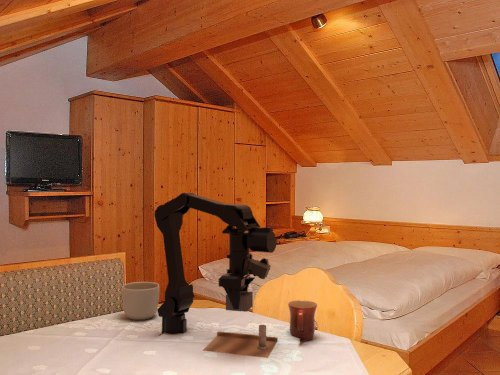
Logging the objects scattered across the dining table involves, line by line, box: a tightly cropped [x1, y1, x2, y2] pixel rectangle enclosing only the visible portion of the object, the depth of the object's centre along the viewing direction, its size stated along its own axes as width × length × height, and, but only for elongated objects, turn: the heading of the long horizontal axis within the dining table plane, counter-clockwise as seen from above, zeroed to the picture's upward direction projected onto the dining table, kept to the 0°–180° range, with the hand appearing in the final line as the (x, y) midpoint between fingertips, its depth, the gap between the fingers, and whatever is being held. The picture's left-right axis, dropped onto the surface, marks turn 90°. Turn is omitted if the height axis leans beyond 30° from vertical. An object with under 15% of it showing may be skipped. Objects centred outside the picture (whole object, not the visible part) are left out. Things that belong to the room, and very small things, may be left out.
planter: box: [121, 281, 160, 321], centre depth 153 cm, size 12×12×11 cm
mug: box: [287, 299, 318, 342], centre depth 133 cm, size 12×9×10 cm
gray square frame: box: [225, 291, 254, 313], centre depth 124 cm, size 6×6×4 cm
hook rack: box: [202, 324, 279, 359], centre depth 124 cm, size 18×13×7 cm
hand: (239, 306), depth 124 cm, fingers closed on gray square frame, 6 cm apart
